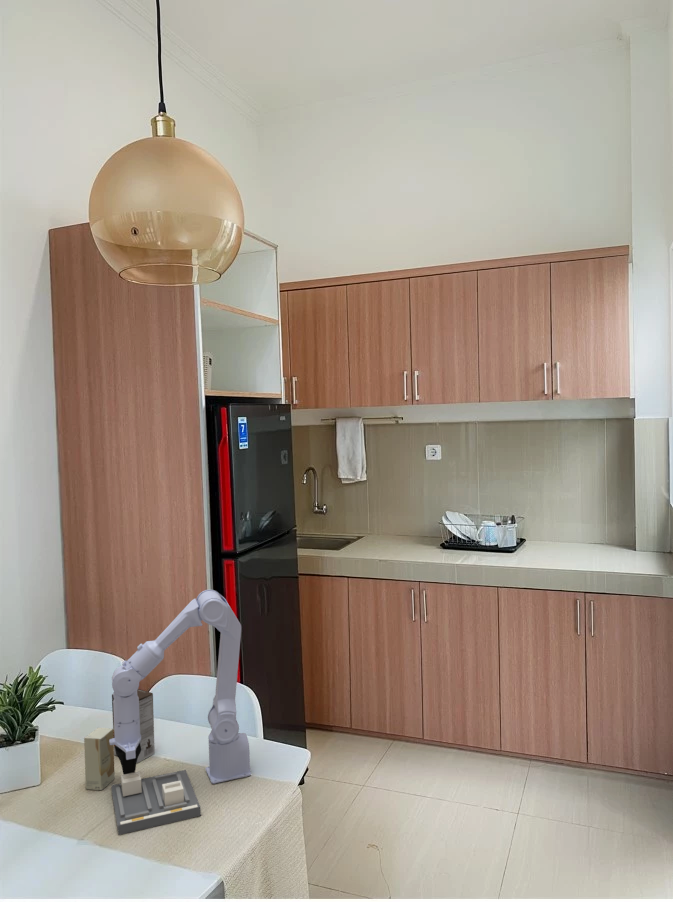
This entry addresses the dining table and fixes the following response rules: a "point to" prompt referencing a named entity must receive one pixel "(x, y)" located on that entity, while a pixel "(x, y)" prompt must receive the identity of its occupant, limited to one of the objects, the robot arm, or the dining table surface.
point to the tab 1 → (131, 783)
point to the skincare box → (99, 759)
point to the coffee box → (144, 724)
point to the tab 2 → (173, 793)
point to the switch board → (153, 804)
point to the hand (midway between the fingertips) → (129, 776)
